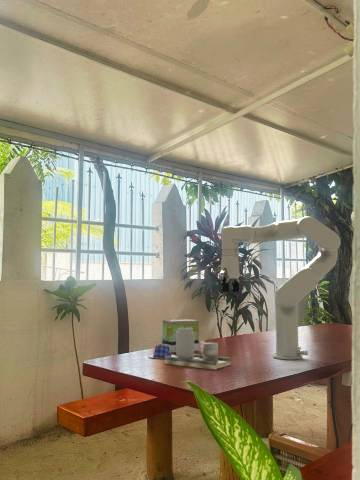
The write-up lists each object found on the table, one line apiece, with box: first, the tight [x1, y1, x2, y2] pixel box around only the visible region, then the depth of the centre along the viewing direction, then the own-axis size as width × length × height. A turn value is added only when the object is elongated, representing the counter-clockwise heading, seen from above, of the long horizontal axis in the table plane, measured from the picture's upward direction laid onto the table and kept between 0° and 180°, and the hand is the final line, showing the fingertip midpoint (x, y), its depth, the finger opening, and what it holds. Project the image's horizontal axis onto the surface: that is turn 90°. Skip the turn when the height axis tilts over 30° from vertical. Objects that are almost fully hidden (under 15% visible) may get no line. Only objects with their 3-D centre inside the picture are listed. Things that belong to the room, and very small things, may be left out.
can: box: [175, 328, 195, 359], centre depth 181 cm, size 8×8×12 cm
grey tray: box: [164, 342, 231, 370], centre depth 177 cm, size 23×12×8 cm, turn 56°
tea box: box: [161, 318, 200, 354], centre depth 215 cm, size 15×10×15 cm
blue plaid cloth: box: [148, 344, 176, 360], centre depth 195 cm, size 12×12×5 cm
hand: (230, 291), depth 200 cm, fingers open, 9 cm apart
